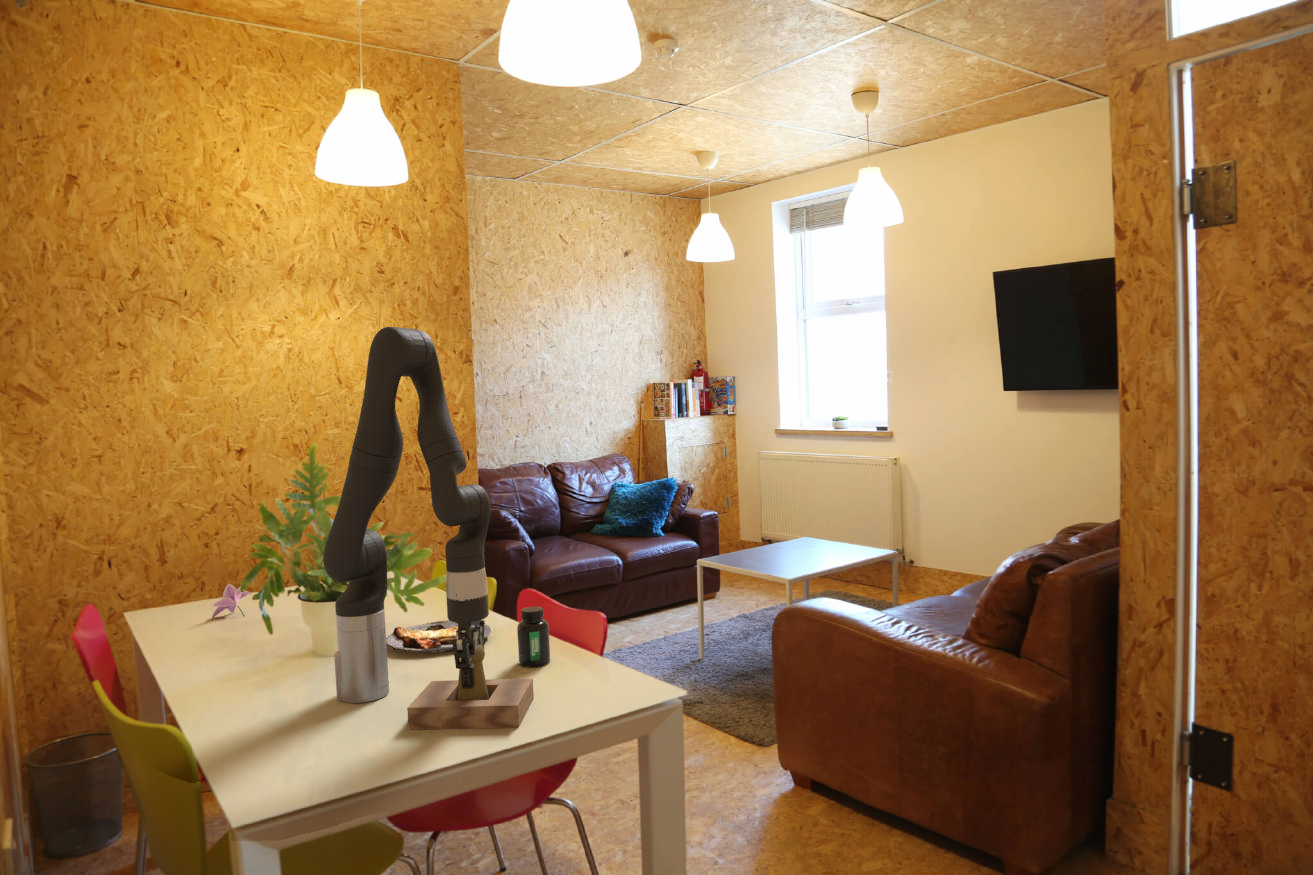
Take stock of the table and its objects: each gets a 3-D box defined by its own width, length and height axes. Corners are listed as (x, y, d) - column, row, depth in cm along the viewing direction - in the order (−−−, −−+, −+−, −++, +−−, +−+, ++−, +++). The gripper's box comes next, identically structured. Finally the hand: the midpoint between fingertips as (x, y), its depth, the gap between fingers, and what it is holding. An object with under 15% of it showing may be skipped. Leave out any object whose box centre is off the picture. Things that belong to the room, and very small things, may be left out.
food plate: (383, 662, 193) (383, 646, 193) (385, 635, 215) (385, 621, 215) (495, 651, 200) (495, 636, 200) (486, 626, 222) (486, 613, 222)
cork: (457, 710, 156) (454, 651, 155) (455, 699, 161) (452, 642, 161) (490, 706, 157) (487, 647, 157) (488, 695, 163) (485, 638, 162)
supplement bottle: (541, 668, 184) (539, 614, 183) (513, 666, 186) (510, 612, 185) (555, 658, 190) (552, 605, 190) (528, 656, 192) (525, 604, 192)
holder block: (408, 729, 153) (407, 707, 153) (432, 700, 167) (431, 680, 167) (518, 727, 152) (517, 705, 152) (533, 698, 166) (532, 678, 166)
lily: (258, 611, 249) (242, 583, 249) (266, 602, 240) (249, 573, 240) (218, 633, 241) (201, 604, 241) (224, 624, 232) (206, 594, 233)
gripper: (457, 584, 165) (462, 670, 166) (435, 603, 151) (440, 697, 152) (496, 583, 165) (500, 670, 166) (477, 602, 151) (482, 696, 152)
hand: (471, 682), depth 159 cm, fingers closed on cork, 4 cm apart
